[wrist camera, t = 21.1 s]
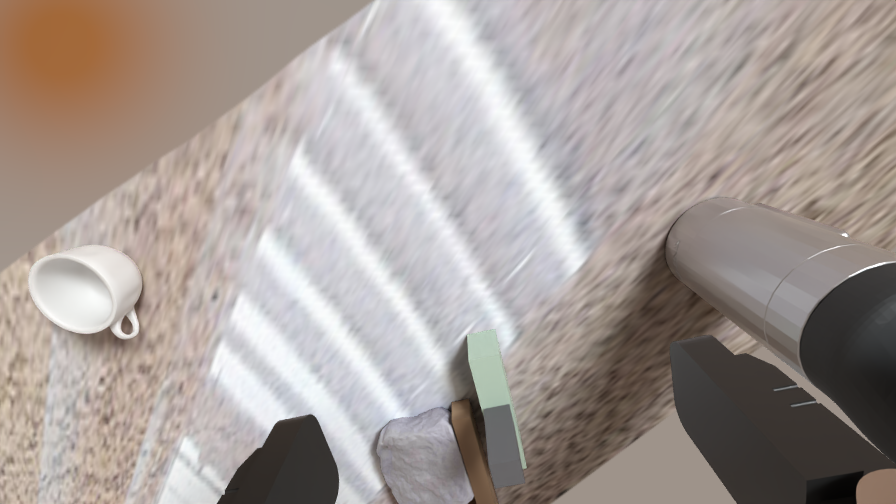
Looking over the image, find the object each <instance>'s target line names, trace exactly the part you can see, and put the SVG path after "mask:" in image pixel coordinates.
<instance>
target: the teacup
mask: <svg viewBox="0 0 896 504" xmlns="http://www.w3.org/2000/svg"><path fill="white" fill-rule="evenodd" d="M28 286H29V291H30V294H31V297H32V299H33V301H34V303H35V304H36V306H37V307H38V309H39V310H40V311H41V312H42V313H43V314H44V315H45V316H46V317H47V318H48V319H49V320H50V321H52V322H53V323H55V324H56V325H58V326H60V327H61V328H64V329H66V330H68V331H71V332H75V333H81V334H91V333H96V332H99V331H102V330H104V329H105V328H107V327H110V329H111V330H112V332H113V333H114V334H115V335H116V336H117V337H119V338H121V339H125V340H127V339H131V338H133V337H135V336H136V335H137V334H138V332H139V322H138V319H137V315H136V312H135V309H134V305H135V303H136V302H137V300H138V299H139V297H140V294H141V291H142V276H141V273H140V270H139V268H138V267H137V265H136V264H135V263H134V261H133V260H132V259H131V258H130V257H128V256H127V255H126V254H124V253H123V252H121V251H119V250H116V249H114V248H111V247H107V246H101V245H86V246H80V247H76V248H72V249H69V250H65V251H62V252H59V253H55V254H52V255H49V256H46V257H43V258H41V259H40V260H38V261H37V262H36V263H35V264H34V265H33V266H32V268H31V270H30V273H29V277H28ZM124 316H127V317H128V318H129V320H130V321H131V323H132V326H133V332H132V333H131V334H130V335H127V334H124V333H123V332H122V330H121V323H122V320H123V318H124Z"/></svg>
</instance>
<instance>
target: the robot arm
mask: <svg viewBox="0 0 896 504" xmlns="http://www.w3.org/2000/svg"><path fill="white" fill-rule="evenodd" d="M666 260H667V264H668V266H669V268H670V270H671V272H672V273H673V274H674V275H675V277H676V278H677V279H678V280H680V281H681V282H682V283H684V284H685V285H686V286H687V287H689V288H690V289H691V290H693V291H694V292H695V293H696V294H697V295H699V296H700V297H701V298H702V299H704V300H705V301H706V302H708V303H709V304H710V305H711V306H713V307H714V308H715V309H717V310H718V311H719V312H720V313H722V314H723V315H724V316H725V317H727V318H728V319H729V320H731V321H732V322H733V323H734V324H736V325H737V326H738V327H740V328H741V329H742V330H743V331H745V332H746V333H747V334H748V335H750V336H751V337H752V338H754V339H755V340H756V341H757V342H759V343H760V344H761V345H763V346H764V347H765V348H767V349H768V350H769V351H770V352H772V353H773V354H774V355H775V356H777V357H778V358H779V359H781V360H782V361H783V362H785V363H786V364H787V365H789V366H790V367H791V368H792V369H794V370H795V371H796V372H797V373H799V374H800V375H801V376H803V377H804V378H805V379H806V380H808V381H809V382H810V383H811V384H813V385H814V386H815V387H817V388H818V389H819V390H821V391H822V392H823V393H824V394H826V395H827V396H828V397H829V398H830V399H831V400H832V401H834V402H835V403H836V404H837V405H838V406H839V407H840V408H841V409H842V411H843V412H844V413H845V414H846V415H847V416H848V417H849V418H850V420H851V421H852V422H853V423H854V424H855V425H856V426H857V428H858V429H859V430H860V431H861V432H862V433H863V434H864V435H865V436H866V437H867V438H868V439H869V440H870V441H871V442H872V443H873V444H874V445H875V446H876V447H877V448H878V449H879V450H880V451H881V452H882V453H883V454H882V453H881V452H880V451H879V450H877V449H876V448H875V447H874V446H872V445H871V444H870V443H869V442H868V441H866V440H865V439H864V438H862V437H861V436H860V435H859V434H858V433H856V432H855V431H854V430H853V429H852V428H850V427H849V426H848V425H847V424H845V423H844V422H843V421H842V420H841V419H839V418H838V417H837V416H836V415H834V414H833V413H832V412H831V411H830V410H828V409H827V408H826V407H824V406H823V405H822V404H821V403H820V404H818V403H817V402H816V399H815V398H814V397H812V396H811V395H810V394H809V393H807V392H806V391H805V390H804V389H803V388H798V386H797V384H796V383H795V382H794V381H792V379H790V378H789V377H788V376H787V375H785V374H784V373H783V372H782V371H780V370H779V369H778V368H777V367H775V366H774V365H772V364H769V363H767V362H765V361H762V360H760V359H758V358H756V357H753V356H751V355H749V354H747V353H744V354H739V355H734V354H733V353H732V352H730V351H729V350H728V349H727V348H726V347H725V346H724V345H723V344H721V343H720V342H719V341H718V340H717V339H716V338H715V337H713V336H712V335H704V336H699V337H694V338H690V339H685V340H680V341H675V342H672V343H671V345H670V359H671V370H672V380H673V390H674V400H675V406H676V410H677V413H678V416H679V418H680V421H681V423H682V425H683V427H684V429H685V431H686V432H687V434H688V435H689V436H690V438H691V439H692V440H693V442H694V444H695V445H696V446H697V448H698V449H699V450H700V452H701V453H702V455H703V456H704V458H705V459H706V460H707V462H708V463H709V465H710V466H711V467H712V468H713V470H714V472H715V473H716V474H717V476H718V477H719V479H720V480H721V481H722V483H723V484H724V486H725V487H726V489H727V490H728V491H729V493H730V494H731V496H732V497H733V499H734V500H735V501H736V503H737V504H896V253H895V252H892V251H889V250H886V249H882V248H879V247H876V246H873V245H870V244H867V243H864V242H861V241H858V240H855V239H853V238H850V237H849V234H848V233H847V232H846V231H844V230H842V229H839V228H836V227H833V226H830V225H827V224H824V223H821V222H817V221H814V220H811V219H808V218H805V217H802V216H799V215H796V214H793V213H790V212H787V211H783V210H780V209H777V208H774V207H771V206H768V205H765V204H762V203H759V204H754V205H753V204H750V203H747V202H744V201H741V200H738V199H733V198H714V199H710V200H706V201H704V202H701V203H699V204H696V205H695V206H693V207H692V208H690V209H689V210H687V211H686V212H685V213H684V214H683V215H682V216H681V217H680V218H679V219H678V220H677V222H676V223H675V224H674V226H673V227H672V229H671V231H670V233H669V235H668V239H667V243H666ZM886 456H887V457H888V458H889V459H888V458H887V457H886ZM893 462H894V463H893ZM338 489H339V475H338V469H337V465H336V463H335V460H334V458H333V456H332V453H331V451H330V448H329V446H328V444H327V441H326V439H325V437H324V434H323V432H322V430H321V427H320V425H319V422H318V420H317V419H316V417H315V416H313V415H311V414H310V415H305V416H300V417H295V418H290V419H285V420H280V421H278V422H277V423H276V424H275V425H274V427H273V429H272V431H271V432H270V434H269V436H268V438H267V439H266V441H265V443H264V445H263V447H262V448H258V449H256V450H255V451H254V452H253V454H252V455H251V456H250V457H249V458H248V459H247V460H246V461H245V462H244V463H243V464H242V465H241V466H240V467H239V468H238V469H237V471H236V473H235V474H234V476H233V478H232V479H231V481H230V483H229V484H228V486H227V488H226V489H225V495H222V496H221V498H220V500H219V501H218V503H217V504H335V502H336V499H337V495H338Z"/></svg>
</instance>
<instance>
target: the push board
mask: <svg viewBox="0 0 896 504" xmlns="http://www.w3.org/2000/svg"><path fill="white" fill-rule="evenodd" d="M467 342H468V361H469V365H470V368H471V372H472V376H473V380H474V383H475V387H476V391H477V394H478V398H479V402H480V406H481V409H482V413H483V417H484V421H485V431H486V442H487V453H488V463H489V468H490V472H491V475H492V479H493V483H494V486H495V488H501V487H506V486H512V485H518V484H523V483H525V479H524V474H523V469H525V468H527V466H526V461H525V456H524V451H523V446H522V441H521V436H520V431H519V427H518V423H517V419H516V414H515V410H514V406H513V402H512V398H511V394H510V389H509V385H508V381H507V377H506V373H505V368H504V364H503V360H502V356H501V352H500V348H499V343H498V339H497V335H496V331H495V329H492V330H487V331H482V332H478V333H473V334H468V335H467Z"/></svg>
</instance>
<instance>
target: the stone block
mask: <svg viewBox="0 0 896 504" xmlns="http://www.w3.org/2000/svg"><path fill="white" fill-rule="evenodd" d="M376 451H377V454H378V456H379V457H380V467H381V471H382V473H383V475H384V478H385V481H386V482H387V485H388V486H389V487H390V488H391V490H392V494H393V495H394V497H395V498H396V500H397V502H398V503H399V504H468V503H469V502H470V501H471V500H472V499H473V497H474V493H473V490H472V487H471V483H470V480H469V477H468V473H467V470H466V467H465V463H464V460H463V457H462V454H461V450H460V447H459V444H458V440H457V437H456V434H455V430H454V427H453V424H452V413H451V411H448V410H446V409H445V408H443V407H440V408H434V409H431V410H428V411H426V412H424V413H421V414H419V415H418V416H415V417H402V418H398V419H393V420H391V421H390V422H389V423H388V424H387V425H386V426H385V427H384V428H383V429H382V431H381V433H380V436H379V439H378V444H377V448H376Z"/></svg>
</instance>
